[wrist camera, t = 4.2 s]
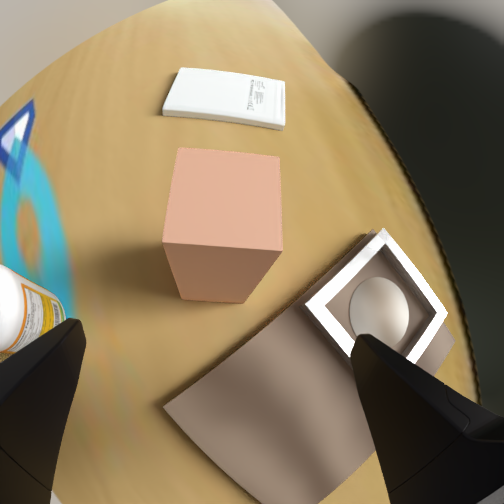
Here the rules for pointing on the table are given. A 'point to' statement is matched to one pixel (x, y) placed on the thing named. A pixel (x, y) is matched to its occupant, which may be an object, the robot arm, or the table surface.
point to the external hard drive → (227, 98)
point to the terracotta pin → (222, 223)
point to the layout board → (312, 377)
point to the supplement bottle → (25, 311)
